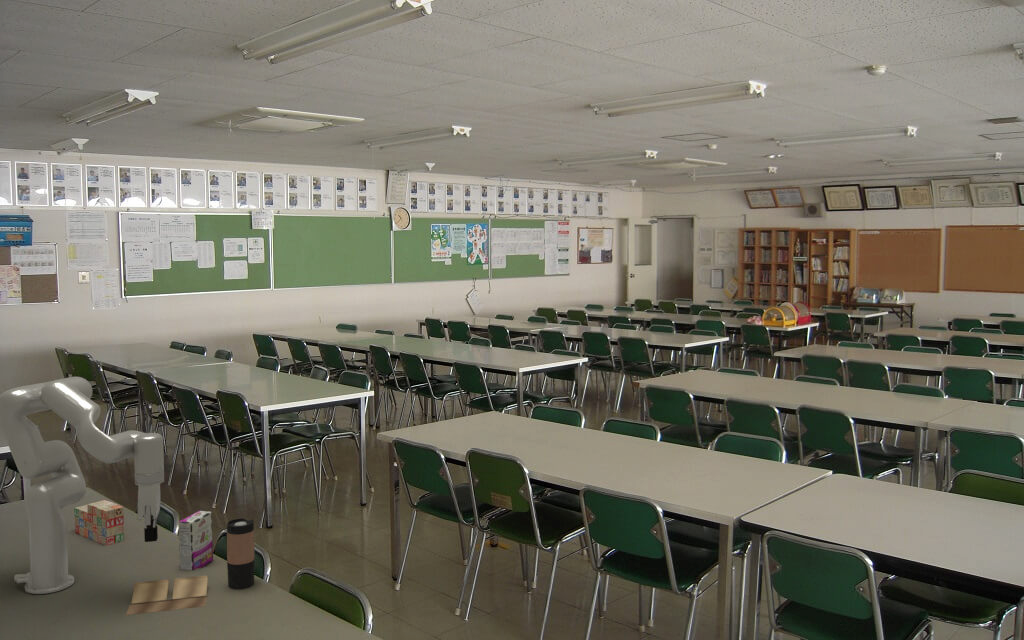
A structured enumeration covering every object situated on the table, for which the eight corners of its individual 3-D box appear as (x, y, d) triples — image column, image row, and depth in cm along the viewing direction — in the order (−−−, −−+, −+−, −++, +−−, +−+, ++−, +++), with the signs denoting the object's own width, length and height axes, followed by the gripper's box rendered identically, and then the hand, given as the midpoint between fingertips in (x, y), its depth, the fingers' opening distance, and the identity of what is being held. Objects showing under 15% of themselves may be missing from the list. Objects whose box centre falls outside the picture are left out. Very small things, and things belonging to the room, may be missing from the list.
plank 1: (131, 606, 218) (131, 603, 217) (134, 585, 223) (134, 582, 223) (166, 602, 221) (166, 599, 220) (169, 582, 226) (168, 579, 226)
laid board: (125, 619, 210) (125, 614, 210) (130, 608, 217) (130, 603, 217) (205, 610, 216) (205, 605, 216) (207, 599, 223) (207, 595, 223)
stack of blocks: (74, 533, 276) (73, 499, 276) (92, 528, 282) (91, 494, 281) (106, 546, 264) (105, 510, 263) (124, 541, 269) (123, 506, 269)
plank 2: (172, 601, 221) (172, 598, 220) (174, 581, 227) (174, 578, 226) (206, 598, 224) (206, 595, 223) (207, 578, 229) (207, 575, 229)
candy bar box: (199, 559, 253) (198, 510, 252) (213, 561, 252) (212, 511, 251) (178, 573, 242) (177, 521, 241) (192, 574, 241) (192, 522, 240)
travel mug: (229, 595, 226) (228, 527, 225) (225, 585, 233) (224, 520, 231) (256, 590, 230) (256, 524, 228) (252, 581, 236) (251, 516, 235)
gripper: (139, 471, 228) (140, 533, 229) (130, 485, 213) (132, 551, 215) (167, 469, 230) (168, 530, 231) (160, 483, 216) (162, 548, 217)
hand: (151, 540), depth 223 cm, fingers closed
